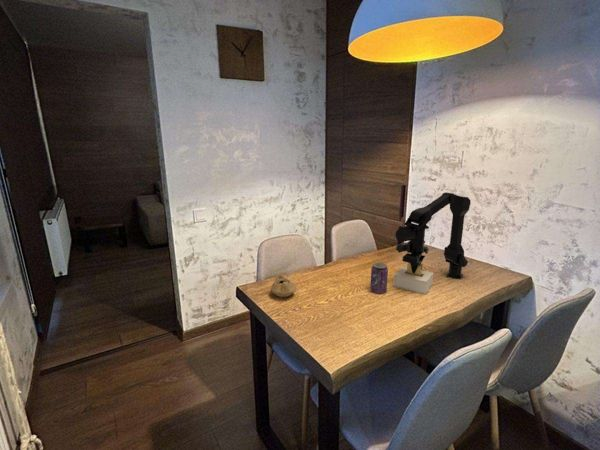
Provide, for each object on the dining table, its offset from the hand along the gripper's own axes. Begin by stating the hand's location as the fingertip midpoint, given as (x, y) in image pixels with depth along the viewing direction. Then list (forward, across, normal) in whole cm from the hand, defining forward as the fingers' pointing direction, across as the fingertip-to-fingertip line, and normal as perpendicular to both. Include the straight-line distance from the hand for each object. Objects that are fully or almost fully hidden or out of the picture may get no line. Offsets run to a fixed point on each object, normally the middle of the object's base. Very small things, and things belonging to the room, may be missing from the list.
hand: (414, 271), depth 146 cm
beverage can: (+7, +14, -11) cm, 19 cm away
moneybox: (+7, 0, 0) cm, 7 cm away
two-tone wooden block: (+1, 0, 0) cm, 1 cm away
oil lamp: (+7, +41, -44) cm, 61 cm away
